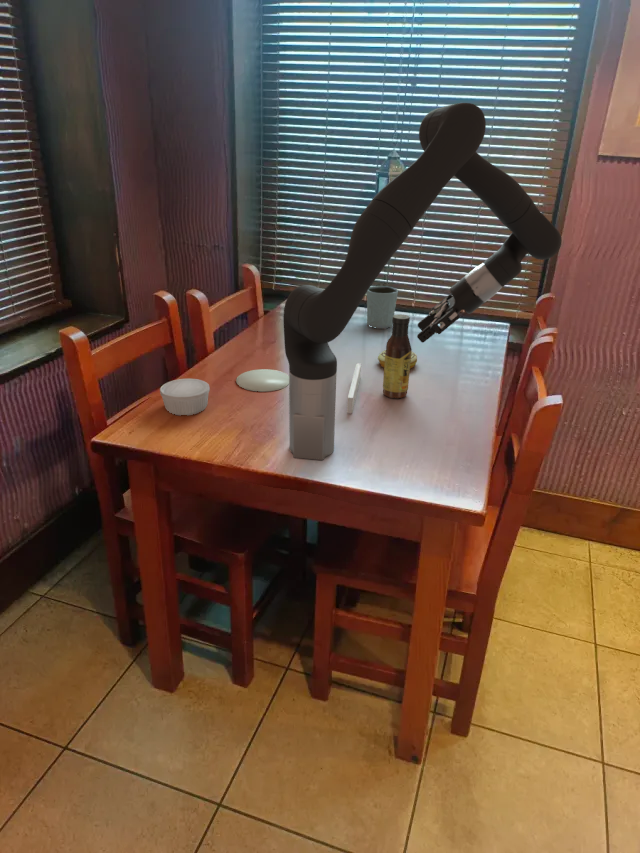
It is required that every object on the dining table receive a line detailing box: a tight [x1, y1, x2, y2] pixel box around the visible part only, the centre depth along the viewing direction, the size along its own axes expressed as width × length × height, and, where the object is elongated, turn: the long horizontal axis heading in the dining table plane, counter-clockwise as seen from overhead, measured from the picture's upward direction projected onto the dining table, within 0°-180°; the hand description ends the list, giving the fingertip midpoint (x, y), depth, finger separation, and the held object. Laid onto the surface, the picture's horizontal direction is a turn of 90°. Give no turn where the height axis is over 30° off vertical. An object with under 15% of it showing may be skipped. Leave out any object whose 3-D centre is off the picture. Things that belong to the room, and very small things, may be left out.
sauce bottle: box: [382, 314, 413, 400], centre depth 144 cm, size 6×6×20 cm
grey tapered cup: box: [366, 285, 399, 329], centre depth 196 cm, size 10×10×12 cm
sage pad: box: [236, 368, 289, 393], centre depth 155 cm, size 14×14×1 cm
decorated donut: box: [377, 349, 418, 370], centre depth 166 cm, size 10×11×4 cm
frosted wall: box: [346, 362, 362, 415], centre depth 147 cm, size 22×1×4 cm, turn 172°
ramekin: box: [159, 378, 211, 416], centre depth 139 cm, size 11×11×5 cm
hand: (419, 333), depth 141 cm, fingers open, 8 cm apart
